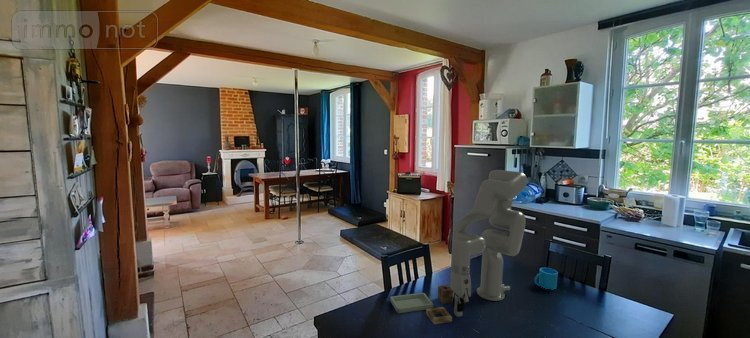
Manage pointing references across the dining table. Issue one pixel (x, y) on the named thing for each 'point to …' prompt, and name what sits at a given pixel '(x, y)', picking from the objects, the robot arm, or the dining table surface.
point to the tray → (411, 302)
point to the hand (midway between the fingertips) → (458, 308)
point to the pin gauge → (456, 307)
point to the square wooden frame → (438, 320)
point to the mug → (547, 278)
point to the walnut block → (445, 294)
